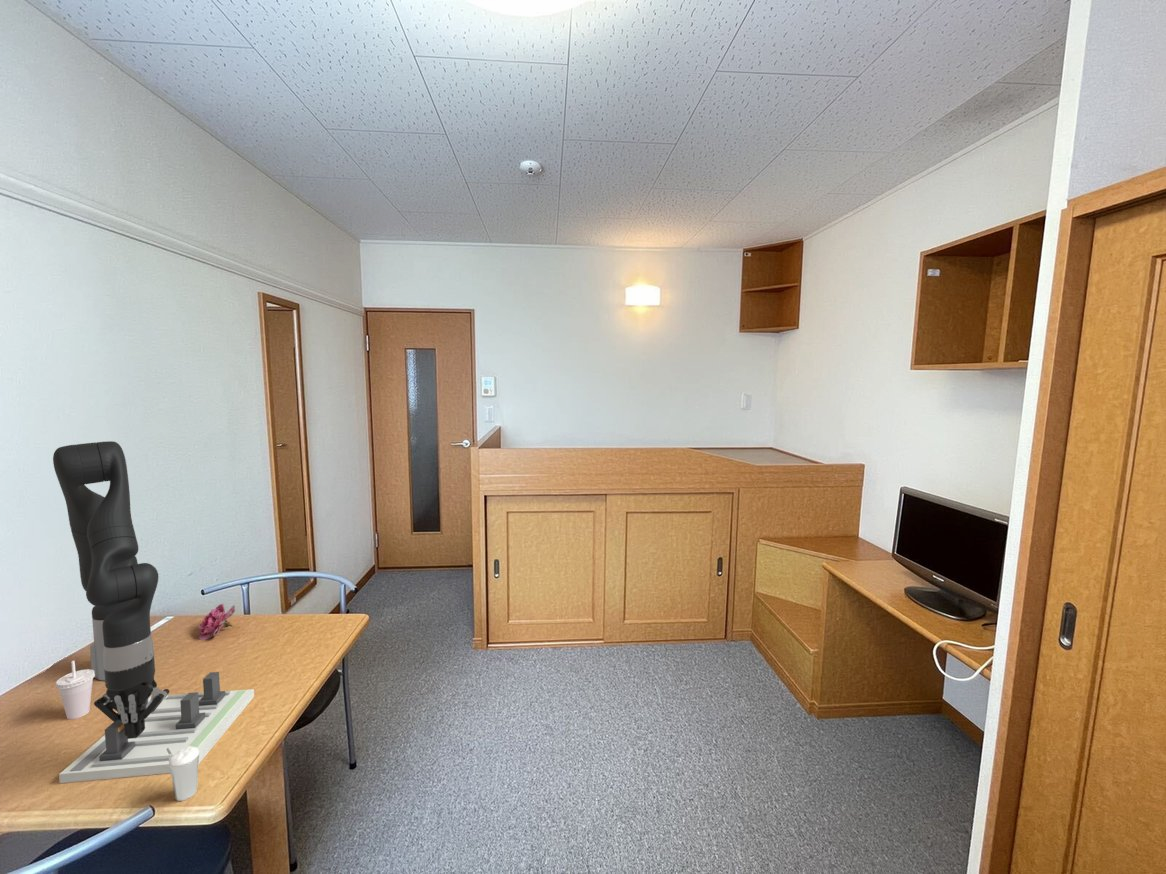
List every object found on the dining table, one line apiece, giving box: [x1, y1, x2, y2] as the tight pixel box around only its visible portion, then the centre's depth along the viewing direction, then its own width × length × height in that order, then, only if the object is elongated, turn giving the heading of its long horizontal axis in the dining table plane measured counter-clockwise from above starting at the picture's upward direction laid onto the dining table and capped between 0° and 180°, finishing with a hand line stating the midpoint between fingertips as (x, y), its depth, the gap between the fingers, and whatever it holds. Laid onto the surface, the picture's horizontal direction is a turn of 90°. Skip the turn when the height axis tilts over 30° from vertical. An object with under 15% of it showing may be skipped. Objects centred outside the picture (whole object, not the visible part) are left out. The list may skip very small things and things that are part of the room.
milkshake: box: [166, 746, 199, 802], centre depth 91 cm, size 4×5×10 cm
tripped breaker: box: [99, 720, 135, 761], centre depth 98 cm, size 4×4×7 cm
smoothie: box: [55, 660, 95, 720], centre depth 112 cm, size 6×6×14 cm
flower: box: [197, 603, 240, 641], centre depth 150 cm, size 11×10×10 cm
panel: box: [58, 671, 255, 784], centre depth 106 cm, size 24×24×9 cm
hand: (135, 735), depth 98 cm, fingers closed
